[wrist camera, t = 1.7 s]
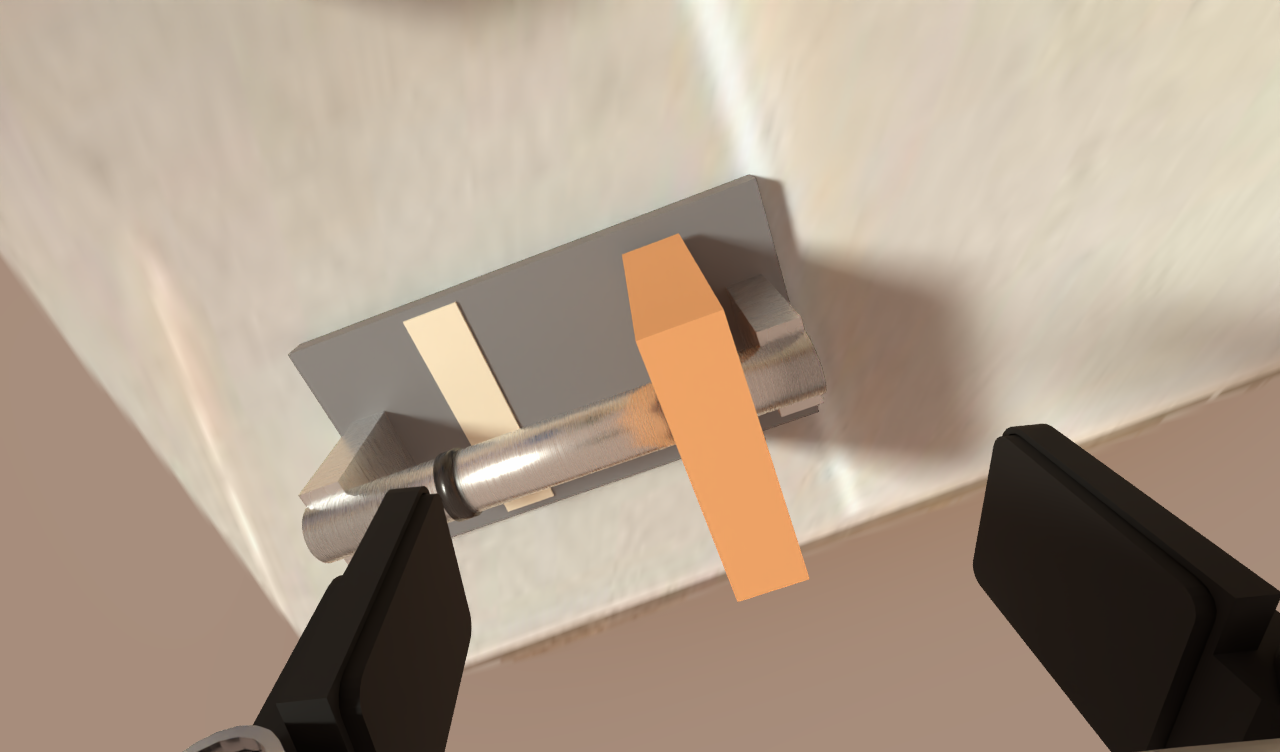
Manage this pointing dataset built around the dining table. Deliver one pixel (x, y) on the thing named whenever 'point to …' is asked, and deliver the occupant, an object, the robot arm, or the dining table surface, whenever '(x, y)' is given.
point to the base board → (533, 340)
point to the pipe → (548, 437)
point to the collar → (712, 416)
